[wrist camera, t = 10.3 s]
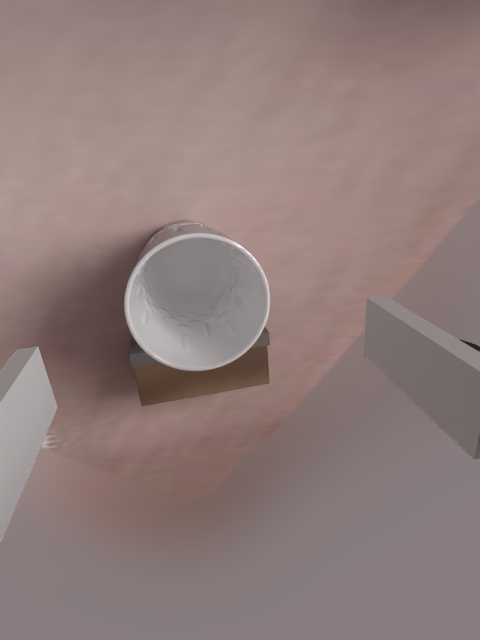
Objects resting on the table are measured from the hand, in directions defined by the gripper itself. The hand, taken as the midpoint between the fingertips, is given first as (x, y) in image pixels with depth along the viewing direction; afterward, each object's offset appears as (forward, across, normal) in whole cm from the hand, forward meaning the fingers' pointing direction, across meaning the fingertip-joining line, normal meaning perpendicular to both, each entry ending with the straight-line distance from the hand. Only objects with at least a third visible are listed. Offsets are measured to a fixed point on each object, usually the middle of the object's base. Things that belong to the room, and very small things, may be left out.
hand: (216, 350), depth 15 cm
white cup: (+16, 0, 0) cm, 16 cm away
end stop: (+16, 0, -7) cm, 17 cm away
